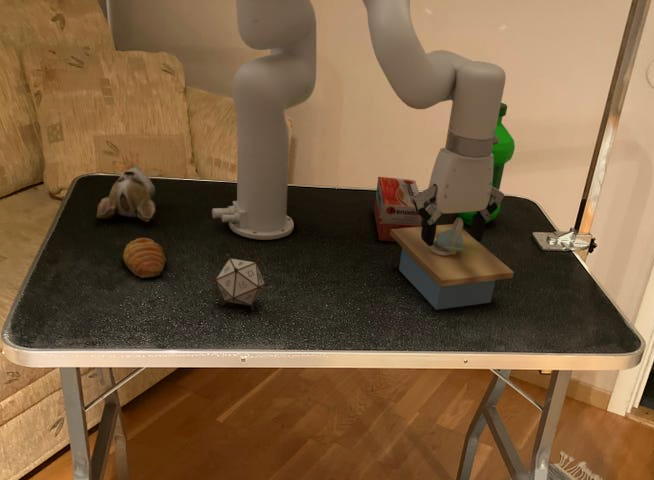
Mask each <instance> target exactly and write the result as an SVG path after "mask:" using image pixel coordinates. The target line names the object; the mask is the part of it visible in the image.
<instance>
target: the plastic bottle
mask: <svg viewBox="0 0 654 480" xmlns="http://www.w3.org/2000/svg"><path fill="white" fill-rule="evenodd" d="M507 110H508V105H507V104H506V103H503V102H501V106H500V111H499V116H498V121H497V125H496V130H495V136H498V138H499V142H498V144H494V145H493V147H492V151H491V153H492V154H493V161H494V164H493V181H492V186H493V187H494V188H496V189H498V190H499V191H500V190H501V189H500V188H501V184H502V179H503V175H504V174H503V173H504V169H505V164H506V163H508V162H509V161H511V160H512V158H513V155H514V153H515V148H516V145H515V140H514V138H513V137H512V134H510V132H509V131H508V129H507V128H506V126H505V125H504V124H503V123H502V122H503V117H505V116H506V115H507ZM491 198H492V195H491V194H490V199H489V201H490V200H491ZM500 211H501V202H500V203H499V204H498V208H497V209H496V210H495V211H494V212H493V213H492V214H491V215H490V219H489V220H486V224H488V223H489V222H491V221H492V220H494V219H495V218H496V217H497V216H498V214H499V213H500ZM456 214H457V216H458V217H460V218H461V219H462V220H463V224H466V225H469V226H471V223H472V218H473V215H474V214H477V212H476V211H474V212H462V213H456Z"/></svg>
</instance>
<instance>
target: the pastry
mask: <svg viewBox="0 0 654 480" xmlns="http://www.w3.org/2000/svg"><path fill="white" fill-rule="evenodd" d="M122 259H123V262H124V264H125V266H126V267H127V269H128V270H130V271H131V272H132V273H133V275H135V276H136V277H139V278H141V279H145V278H151V277H152V278H153V277H158V276H160V275H161V273H162V272H163V270H164V267H165V264H166V261H167V257H166V256H165V254H164V248H163V247H162V246H161V245H160V244H159V243H157V242H155V241H154V240H153V239H151V238H148V237H138V238H135V239H134V240H130V242H128V243H127V244H126V246H125V248H124V250H123V255H122Z"/></svg>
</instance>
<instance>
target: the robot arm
mask: <svg viewBox="0 0 654 480" xmlns="http://www.w3.org/2000/svg"><path fill="white" fill-rule="evenodd" d="M361 1H362V3H363V4H364V7H365V9H366V13H367V15H366V16H367V26H368V31H369V36H370V41H371V45H372V49H373V53H374V56H375V58H376V61H377V62H378V64H379V67H380V68H381V70H382V73H383V74H384V76H385V78H386V79H387V81H388V83H389V85H390V87H391V89H392V90H393V92H394V93H395V95H396V96H397V97H398V99H400V101H401V102H402V103H403V104H405V105H406V106H407V107H409V108H411V109H415V110H426V109H430V108H431V107H433V106H436V105H437V104H440V103H442V102H443V103H444V102H447V101H448V102H449V101H452V104H451V109H450V114H449V115H450V116H449V120H448V121H449V122H448V128H447V135H446V139H445V146H444V147H441V148H440V149H439V151H438V154H437V155H436V158H435V160H434V165H433V168H432V171H431V174H430V179H429V184H428V187H427V188H426V189H424V190H423V191H421V192H419V194H417V195H415V196H414V197H413V198H412V200H413V203H414V206H415V208H416V211H417V213H418V214H419V215H420V216H421V218H422V224H421V227H422V231H421V237H422V240H423V241H424V242H425V243H426V244H427V245H428V246H433V244H434V238H435V232H436V225H437V224H436V223H435V222H436V221H437V220H438V219H439V218H440V217H441V216H442V215H443V214H457V213H462V212H474V211H476V212H477V214H474V215H473V218H472V223H471V225H470V229H469V234H470V236H472V237H473V238H474V239H475V240H476V241H478V242H479V243H480V242H482V240H483V235H484V233H485V230H486V229H485V228H486V225H487V223H486V220H489V219H490V215H491V214H492V213H493V212H494V211H495V210H496V209H497V208H498V204H499V203H500V204H501V202H502V200H503V199H504V198H505V193H503V191H501V190H500V189H499V190H498V189H496V188H494V187H493V186H492V181H493V164H494V161H493V154H492V153H491V151H492V147H493V145H494V144H498V142H499V138H498V136H495V130H496V125H497V121H498V116H499V111H500V106H501V103H502V100H503V97H504V96H503V95H504V91H505V87H506V86H505V85H506V72H505V70H504V69H503V67H501V66H499V65H497V64H495V63H492V62H487V61H479V60H472V59H470V58H466V57H465V56H462V55H459V54H457V53H455V52H452V51H449V50H446V49H445V50H444V49H439V50H434V51H433V50H432V51H430V52H426V51H425V49H424V46H423V45H422V43H421V42H420V39H419V37H418V35H417V33H416V30H415V28H414V24H413V22H412V16H411V0H361ZM235 5H236V22H237V29H238V33H239V36H240V39H241V40H242V41H243V43H244V45H246V46H247V47H249V48H250V49H253V50H257V51H267V50H270V54H268V55H265V56H260V57H257V58H254V59H251V60H249V61H247V62H245V63H243V64H242V65H241V66H240V67H239V68H238V70H237V71H236V72H235V74H234V76H233V79H232V87H231V92H232V93H231V94H232V100H233V105H234V110H235V111H234V112H235V116H236V118H235V119H236V141H237V142H236V147H237V149H236V151H237V154H236V155H237V157H236V159H237V161H236V164H237V166H236V168H237V169H236V170H237V171H236V200H233V201H232V205H228V206H227V207H223V208H222V207H221V208H220V207H216V208H215V207H214V208H212V209H211V216H212V219H221V221H222V223H228V227H229V229H230V230H231V231H232V232H233V233H235V234H236V235H238V236H241V237H244V238H248V239H252V240H259V241H268V240H276V239H281V238H282V239H283V238H285V237H286V236H287V237H288V236H289V235H290V234H292V232H293V231H294V228H295V225H294V220H293V219H292V217H291V216H288V214H287V208H288V188H289V187H288V184H289V163H290V130H289V126H288V123H287V120H286V116H285V111H286V110H289V109H291V108H293V107H296V106H298V105H301V104H303V103H305V102H306V101H307V100H308V99H310V97H311V96H312V95H313V92H314V90H315V87H316V82H317V17H316V12H315V8H314V6H313V4H312V1H311V0H235ZM490 194H491V195H492V198H491V200H490V201H489V199H490ZM426 202H427V204H428V205H427V206H426V207H425V203H426Z"/></svg>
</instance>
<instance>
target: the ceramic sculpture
mask: <svg viewBox="0 0 654 480" xmlns="http://www.w3.org/2000/svg"><path fill="white" fill-rule="evenodd" d="M155 193H156V187H155V185H154V184H153V182H152V181H151V178H150V177H149V176H148V175H147V173H146V172H145V171H143V170H142V169H141V168H140V166H139V165H138V164H135V165H134V166H133V167H132V168H129V169H128V170H126V171H124V172H123V173H121V174H120V175H119V177H118V179H117V180H116V181H115V182H114V183H113V185H112V187H111V190H110V191H109V194H108V196H106V197H103V198H101V199H100V202H99V203H98V204H97V209H96V215H95V217H96V219H102V220H104V219H105V220H106V219H112V218H113V217H114V216H115V215H116V214H118V215H119V216H121V217H125V218H138V219H139V220H141V221H143V222H146V223H149V222H150V221H152V220H154V218H155V215H156V212H157V208H156V203H155V201H154V200H153V198H154V197H155Z"/></svg>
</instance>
